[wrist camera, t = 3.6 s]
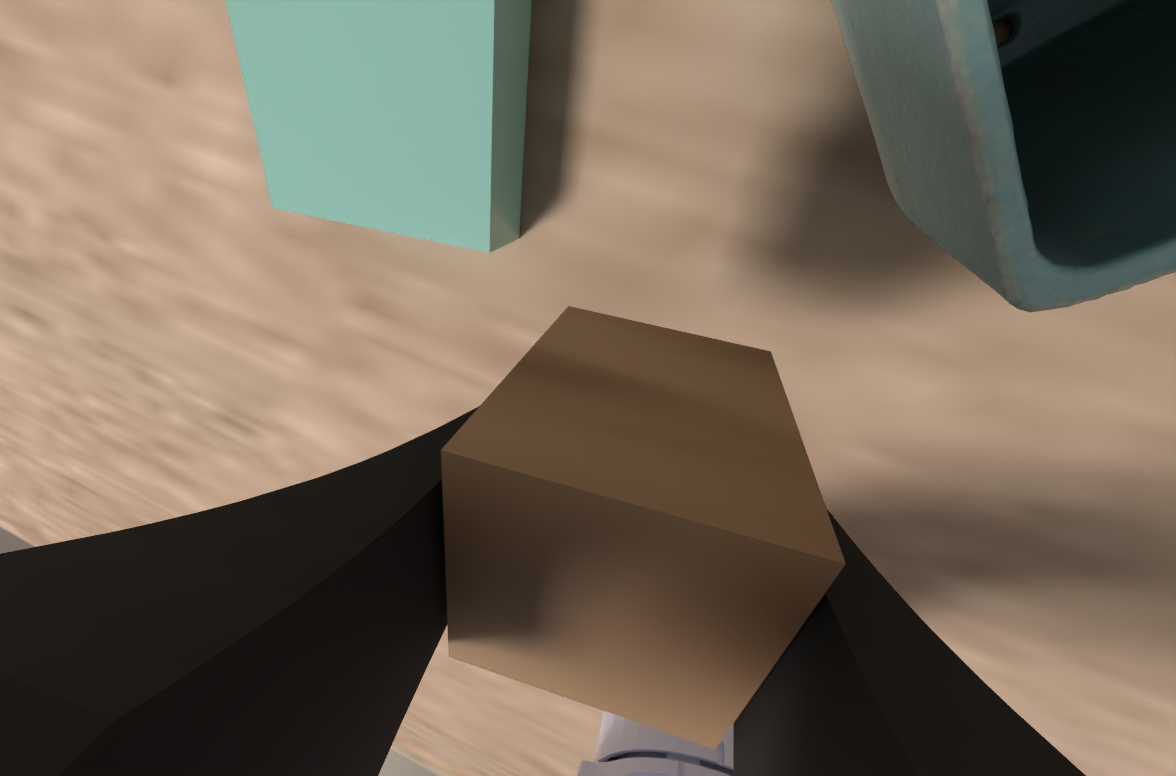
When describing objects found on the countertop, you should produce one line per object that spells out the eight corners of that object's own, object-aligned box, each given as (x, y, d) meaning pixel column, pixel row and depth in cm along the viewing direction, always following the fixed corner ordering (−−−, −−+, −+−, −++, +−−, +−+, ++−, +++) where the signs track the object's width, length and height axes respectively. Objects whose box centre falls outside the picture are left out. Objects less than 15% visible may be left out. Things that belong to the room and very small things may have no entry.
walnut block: (709, 502, 11) (715, 748, 7) (549, 458, 12) (448, 656, 7) (770, 351, 9) (845, 564, 4) (568, 306, 10) (440, 450, 5)
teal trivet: (522, 236, 16) (489, 252, 14) (336, 199, 17) (272, 208, 15) (539, -53, 12) (496, -107, 10) (293, -79, 13) (195, -135, 11)
